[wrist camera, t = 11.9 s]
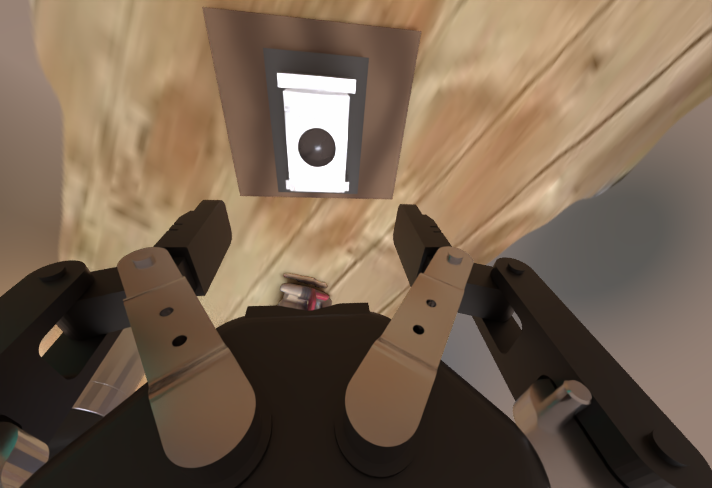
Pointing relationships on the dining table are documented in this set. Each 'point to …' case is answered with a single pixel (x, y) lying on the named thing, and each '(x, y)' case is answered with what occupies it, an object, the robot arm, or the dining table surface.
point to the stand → (321, 57)
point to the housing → (316, 130)
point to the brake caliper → (304, 294)
